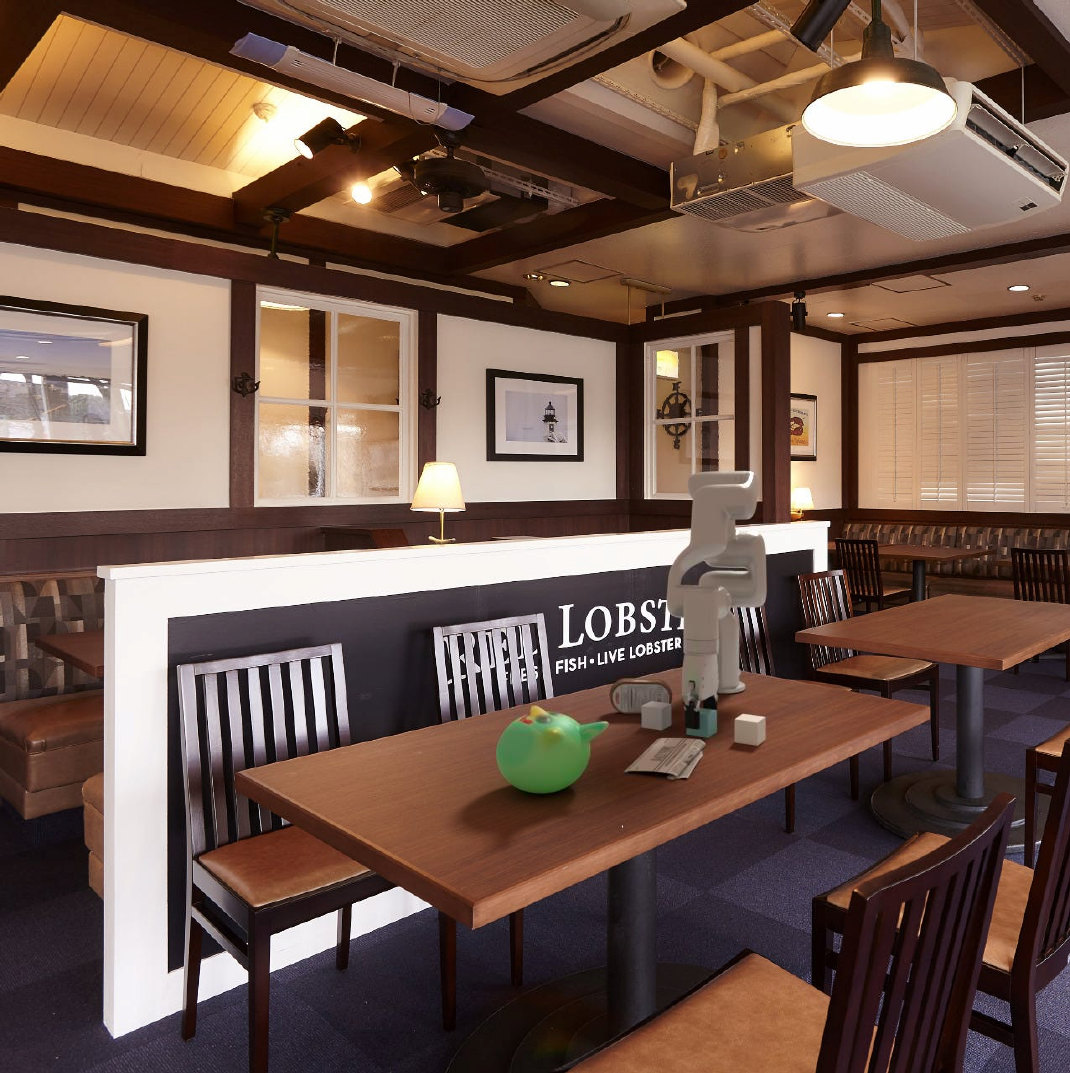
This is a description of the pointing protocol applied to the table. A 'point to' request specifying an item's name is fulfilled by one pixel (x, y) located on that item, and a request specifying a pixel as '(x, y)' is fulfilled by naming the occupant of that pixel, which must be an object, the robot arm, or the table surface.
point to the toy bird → (545, 750)
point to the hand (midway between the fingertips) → (701, 723)
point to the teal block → (705, 723)
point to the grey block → (656, 715)
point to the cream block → (750, 729)
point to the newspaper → (670, 757)
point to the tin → (638, 694)
